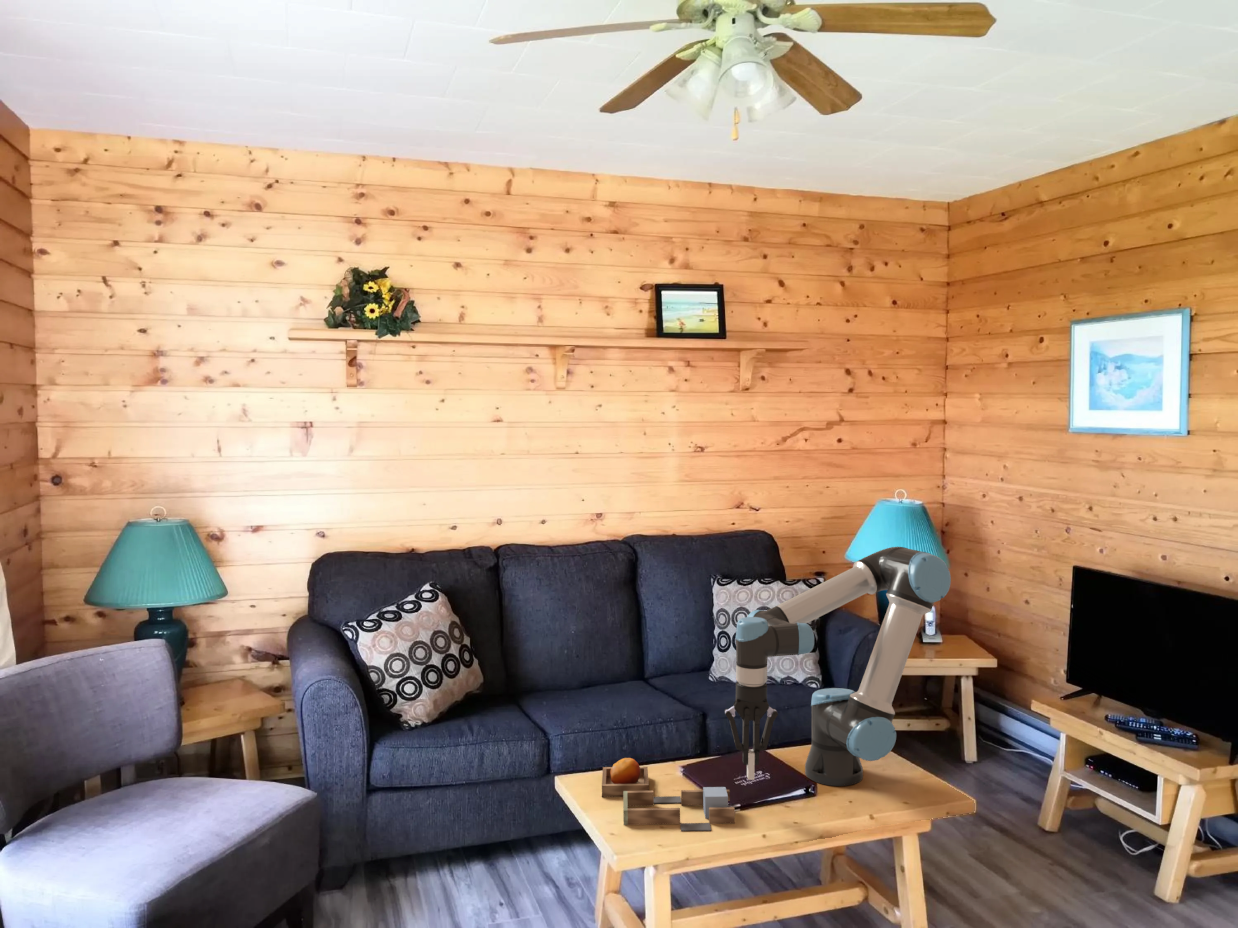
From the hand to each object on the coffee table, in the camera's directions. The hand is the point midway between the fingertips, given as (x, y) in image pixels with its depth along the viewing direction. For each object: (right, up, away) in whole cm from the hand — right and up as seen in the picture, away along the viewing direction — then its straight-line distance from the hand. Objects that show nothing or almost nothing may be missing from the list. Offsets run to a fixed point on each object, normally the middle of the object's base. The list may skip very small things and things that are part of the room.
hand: (750, 777), depth 221 cm
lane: (-17, -9, +1) cm, 20 cm away
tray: (-30, -8, +17) cm, 36 cm away
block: (-8, -9, +1) cm, 12 cm away
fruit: (-30, -8, +17) cm, 36 cm away
